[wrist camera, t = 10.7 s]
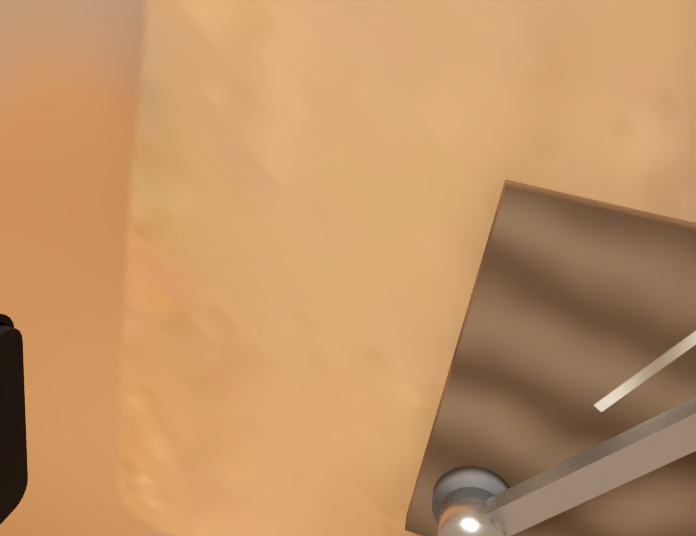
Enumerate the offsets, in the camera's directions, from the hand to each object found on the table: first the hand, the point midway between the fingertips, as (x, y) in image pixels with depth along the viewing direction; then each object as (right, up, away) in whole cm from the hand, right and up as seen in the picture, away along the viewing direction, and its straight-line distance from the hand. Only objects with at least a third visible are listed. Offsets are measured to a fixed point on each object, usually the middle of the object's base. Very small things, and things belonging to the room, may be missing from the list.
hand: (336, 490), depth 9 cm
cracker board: (+16, -5, +30) cm, 34 cm away
